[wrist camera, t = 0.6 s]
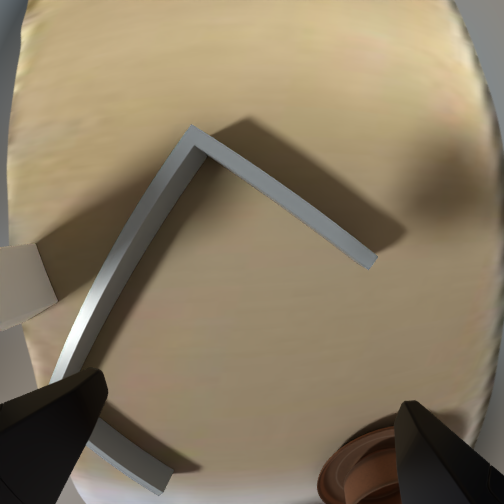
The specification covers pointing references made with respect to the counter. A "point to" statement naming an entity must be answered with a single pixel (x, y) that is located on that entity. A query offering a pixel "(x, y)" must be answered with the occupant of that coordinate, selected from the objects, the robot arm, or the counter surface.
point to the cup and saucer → (362, 471)
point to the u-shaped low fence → (130, 252)
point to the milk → (22, 285)
